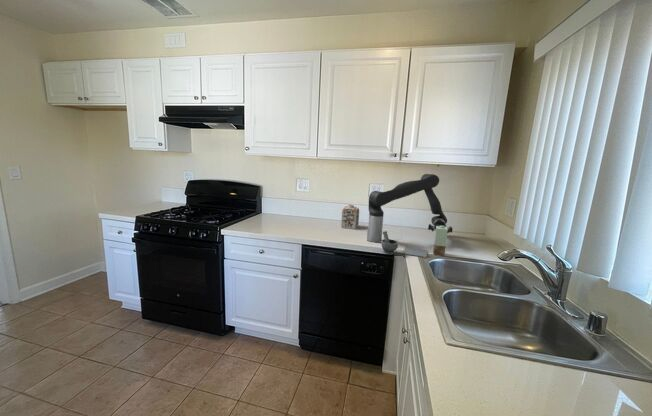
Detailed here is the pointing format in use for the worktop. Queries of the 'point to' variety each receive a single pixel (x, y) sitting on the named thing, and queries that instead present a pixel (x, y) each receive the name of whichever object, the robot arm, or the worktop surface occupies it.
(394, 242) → the mortar and pestle
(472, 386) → the worktop surface
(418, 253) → the grey square tile
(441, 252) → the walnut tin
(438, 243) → the pale green block
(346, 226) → the decorative jar
